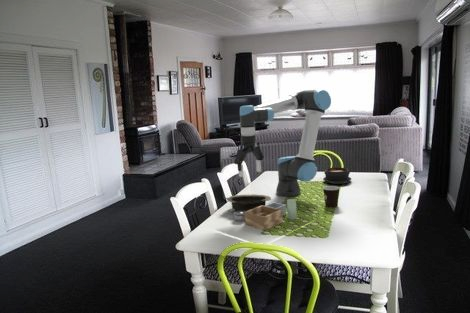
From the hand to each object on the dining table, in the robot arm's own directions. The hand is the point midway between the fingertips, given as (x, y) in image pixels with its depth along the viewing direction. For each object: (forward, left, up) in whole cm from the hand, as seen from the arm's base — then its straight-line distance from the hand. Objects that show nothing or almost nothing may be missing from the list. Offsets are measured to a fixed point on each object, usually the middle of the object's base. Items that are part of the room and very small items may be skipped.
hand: (250, 174), depth 203 cm
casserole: (-79, +6, -21) cm, 82 cm away
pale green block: (-1, +26, -20) cm, 33 cm away
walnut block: (+13, +16, -20) cm, 28 cm away
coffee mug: (-32, +30, -21) cm, 48 cm away
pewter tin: (+16, +7, -20) cm, 27 cm away
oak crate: (+13, +20, -20) cm, 31 cm away
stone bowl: (0, -2, -21) cm, 21 cm away
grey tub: (0, +17, -20) cm, 26 cm away
